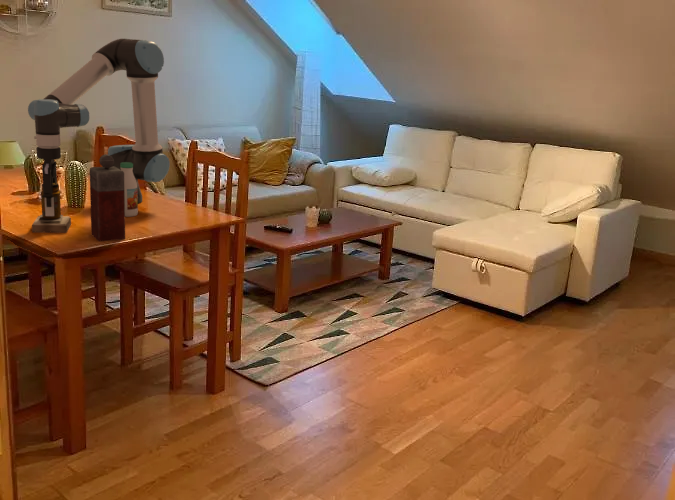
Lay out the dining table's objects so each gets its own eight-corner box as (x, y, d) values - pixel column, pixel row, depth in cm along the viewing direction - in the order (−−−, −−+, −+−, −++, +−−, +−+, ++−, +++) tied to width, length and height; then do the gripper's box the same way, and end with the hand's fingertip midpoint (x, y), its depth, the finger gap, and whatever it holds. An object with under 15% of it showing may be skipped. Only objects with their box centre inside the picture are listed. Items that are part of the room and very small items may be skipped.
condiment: (62, 215, 244) (61, 181, 241) (62, 221, 237) (60, 186, 233) (40, 215, 242) (38, 181, 238) (38, 221, 234) (36, 186, 231)
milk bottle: (119, 217, 261) (118, 165, 255) (114, 212, 267) (113, 161, 262) (140, 216, 265) (139, 164, 259) (134, 211, 271) (134, 161, 266)
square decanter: (115, 230, 244) (113, 151, 236) (125, 238, 235) (124, 156, 227) (89, 232, 239) (86, 151, 231) (98, 241, 230) (96, 157, 222)
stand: (71, 224, 247) (70, 216, 247) (66, 232, 237) (66, 224, 236) (38, 224, 245) (37, 215, 244) (32, 232, 235) (31, 223, 234)
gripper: (41, 141, 241) (44, 206, 248) (31, 150, 223) (34, 220, 230) (64, 142, 243) (67, 207, 249) (55, 151, 225) (58, 220, 231)
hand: (51, 213), depth 239 cm, fingers open, 6 cm apart
